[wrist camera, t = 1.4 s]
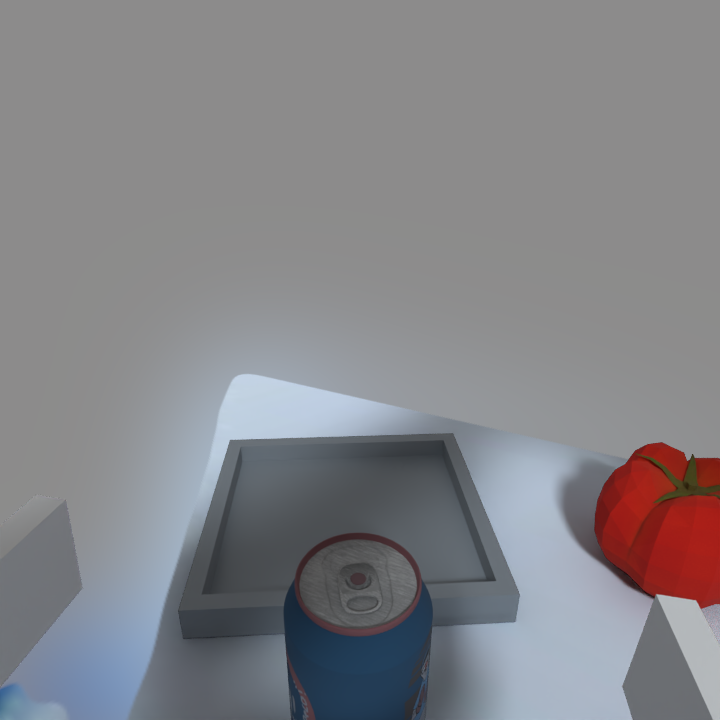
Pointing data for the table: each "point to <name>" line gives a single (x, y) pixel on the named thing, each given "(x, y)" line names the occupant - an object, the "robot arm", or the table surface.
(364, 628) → the soda can
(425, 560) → the tray
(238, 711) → the table surface
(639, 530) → the tomato
